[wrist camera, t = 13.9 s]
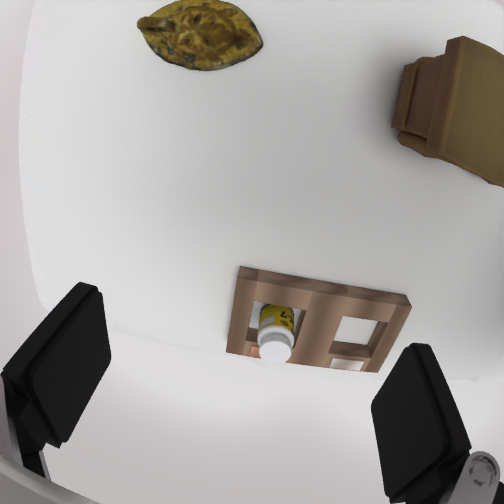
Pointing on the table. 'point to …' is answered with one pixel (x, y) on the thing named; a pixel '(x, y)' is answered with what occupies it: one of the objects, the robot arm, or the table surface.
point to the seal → (201, 34)
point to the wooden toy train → (456, 108)
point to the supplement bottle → (276, 333)
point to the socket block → (318, 319)
